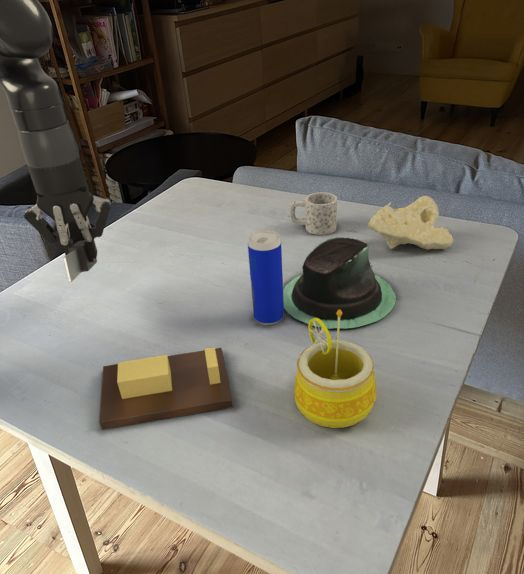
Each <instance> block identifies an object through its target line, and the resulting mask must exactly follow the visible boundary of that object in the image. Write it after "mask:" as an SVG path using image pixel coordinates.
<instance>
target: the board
mask: <svg viewBox="0 0 524 574" xmlns="http://www.w3.org/2000/svg"><path fill="white" fill-rule="evenodd" d="M215 352H216V357H217V362H218V368H219V376H220V383H217V384H211V385H210V381H209V375H208V368H207V362H206V356H205V349H203V350H196V351H191V352H184V353H178V354H172V355H167V356H168V361H169V365H170V370H171V380H172V391H168V392H162V393H156V394H150V395H144V396H138V397H132V398H126V399H122V397H121V393H120V390H119V387H118V383H117V376H118V363H115V364H109V365H103V367H102V377H101V378H102V379H101V392H100V402H99V403H100V405H99V418H98V424H99V426H100V430H101V431H102V430H103V431H104V430H109V429H115V428H120V427H127V426H133V425H138V424H143V423H149V422H156V421H161V420H167V419H173V418H174V419H175V418H178V417H185V416H191V415H196V414H202V413H208V412H214V411H219V410H227V409H230V408H231V409H232V408H234V403H233V402H234V401H233V397H232V392H231V391H232V390H231V386H230V381H229V377H228V373H227V372H228V371H227V368H226V362H225V357H224V353H223V348H222V347H215Z"/></svg>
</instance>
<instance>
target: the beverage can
mask: <svg viewBox="0 0 524 574" xmlns="http://www.w3.org/2000/svg"><path fill="white" fill-rule="evenodd" d="M247 241H248V242H247V251H248V252H247V253H248V265H249V278H250V290H251V301H252V302H251V303H252V313H253V318H254V320H255V321H256V322H257V323H259V324H260V325H265V326H272V325H273V326H274V325H277V324H278V323H280V322H281V321H282V319H284V316H285V308H284V300H283V290H284V278H283V253H282V239H281V238H280V234H279V233H278V232H276V231H274V230H269V229H263V230H262V229H261V230H257V231H254V232H252V233H251V234H249V237H248V240H247Z"/></svg>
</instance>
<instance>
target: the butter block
mask: <svg viewBox="0 0 524 574" xmlns="http://www.w3.org/2000/svg"><path fill="white" fill-rule="evenodd" d="M168 356H169V355H168V354H163V355H156V356H149V357H142V358H136V359H130V360H125V361H118V362H117V364H118V376H117V383H118V387H119V390H120V393H121V397H122V399H126V398H132V397H138V396H144V395H150V394H156V393H162V392H168V391H172V380H171V370H170V365H169V361H168Z"/></svg>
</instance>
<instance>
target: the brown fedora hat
mask: <svg viewBox="0 0 524 574" xmlns="http://www.w3.org/2000/svg"><path fill="white" fill-rule="evenodd" d="M369 252H370V245H369V244H368V243H367V242H364V241H362V240H359V239H358V238H357V237H353V238H351V237H343V236H340V237H339V236H335V237H329V238H328V239H326V240H324V241H322V242H320V243H318V244H317V245H316V246H315V247H314V248H313V250H312V251H310V252H309V253H308V254H307V256H306V257H305V259H304V261H303V264H302V266H301V267H302V268H301V270H302V274H301V275H297V276H296V277H294V278H293V279H292V280H291V281H289V282H288V283H287V284H286V285H285V286H284V287H283V300H284V311H286V313H287V314H288V315H290V316H291V317H292V318H294V319H295V320H297V321H300V322H303V323H304V324H307V325H309V322H310V320H311V319H313V318H318V319H320V320H321V321H322V322H323V323H324V324H325V326H326V327H327V329H328V330H330V329H337V325H338V316H337V314H336V313H337V311H338V310H341V311H342V315H341V317H340V329H346V330H347V329H353V328H359V327H363V326H366V325H370V324H372V323H373V324H374V323H375V322H378V321H380V320H382V319H383V318H384V317H386V316H387V315H388V314H389V313H391V311H392V310H393V309H394V307H395V305H396V302H397V296H396V293H395V292H394V290H393V288H392V286H391V285H390V283H388V282H387V281H386V280H385V279H383V278H382V277H380V276H379V275H377V274H375V273H374V271H373V265H371V264H372V262H370V257H369V254H370V253H369ZM314 322H315V326H316V328H318V326H317V323H316V321H314ZM318 325H319V328H322V327H321V325H320V324H319V323H318ZM315 326H314V323H313V324H312V327H315Z"/></svg>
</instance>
